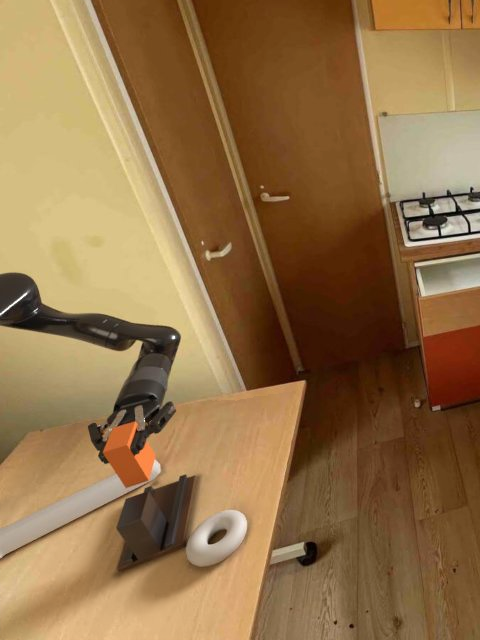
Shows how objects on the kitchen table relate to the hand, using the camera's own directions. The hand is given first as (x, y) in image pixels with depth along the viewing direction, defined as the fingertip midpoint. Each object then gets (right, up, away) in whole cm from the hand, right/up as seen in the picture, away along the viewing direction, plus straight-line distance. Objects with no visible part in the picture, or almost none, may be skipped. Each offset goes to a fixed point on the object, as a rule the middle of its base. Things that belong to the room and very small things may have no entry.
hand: (120, 455), depth 76 cm
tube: (-17, -17, +12) cm, 27 cm away
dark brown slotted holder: (0, -18, +9) cm, 20 cm away
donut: (+14, -20, +6) cm, 25 cm away
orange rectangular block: (-1, -6, +6) cm, 8 cm away
